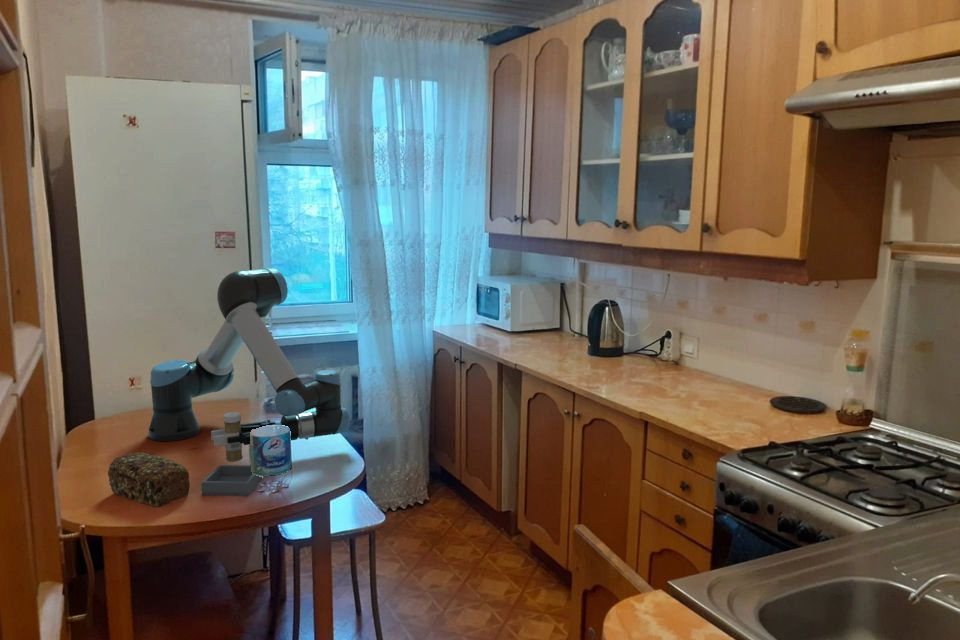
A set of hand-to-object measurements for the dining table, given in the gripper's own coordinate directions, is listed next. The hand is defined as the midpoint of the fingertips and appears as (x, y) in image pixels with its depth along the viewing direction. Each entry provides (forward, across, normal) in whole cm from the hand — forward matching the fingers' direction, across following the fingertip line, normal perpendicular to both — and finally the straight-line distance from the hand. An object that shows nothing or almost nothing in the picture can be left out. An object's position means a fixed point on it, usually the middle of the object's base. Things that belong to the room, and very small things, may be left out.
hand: (213, 438), depth 196 cm
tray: (-3, -15, -9) cm, 17 cm away
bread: (+17, -10, -10) cm, 22 cm away
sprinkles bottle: (-5, 0, -7) cm, 9 cm away
